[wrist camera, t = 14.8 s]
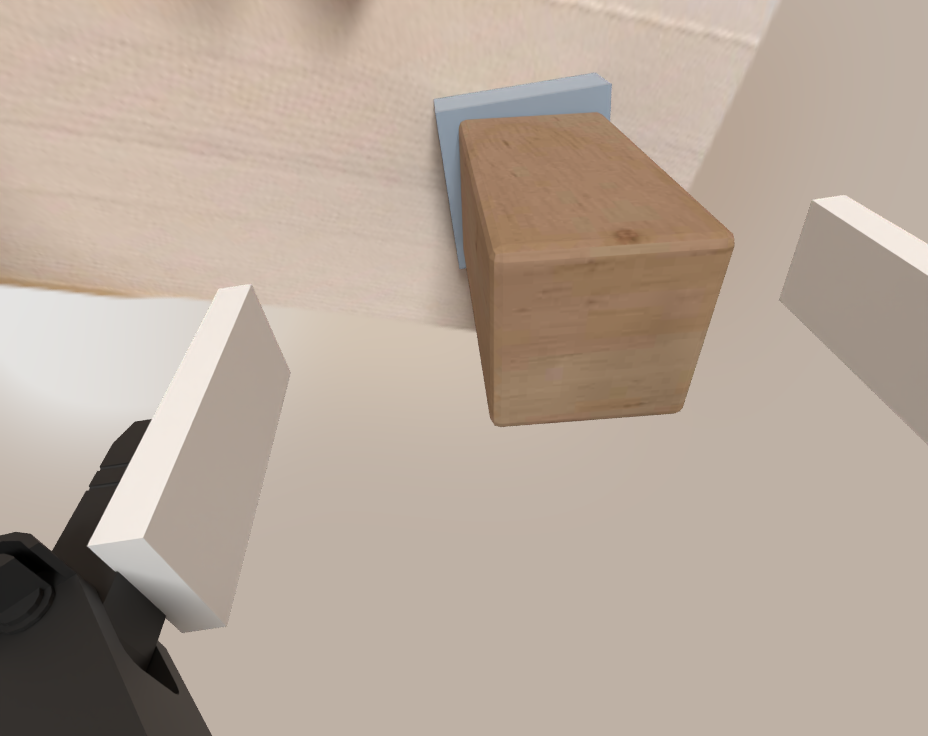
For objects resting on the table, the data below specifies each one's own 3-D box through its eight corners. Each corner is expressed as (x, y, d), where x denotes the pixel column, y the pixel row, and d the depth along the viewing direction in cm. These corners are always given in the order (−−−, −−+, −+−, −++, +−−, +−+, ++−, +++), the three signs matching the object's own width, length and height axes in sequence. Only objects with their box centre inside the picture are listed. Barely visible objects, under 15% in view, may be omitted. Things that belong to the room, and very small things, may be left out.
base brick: (456, 247, 46) (459, 269, 43) (433, 99, 38) (435, 112, 35) (591, 226, 46) (604, 246, 43) (595, 72, 38) (611, 84, 35)
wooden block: (457, 118, 36) (490, 251, 20) (602, 109, 36) (743, 235, 20) (463, 251, 42) (491, 431, 26) (585, 243, 42) (684, 416, 27)
